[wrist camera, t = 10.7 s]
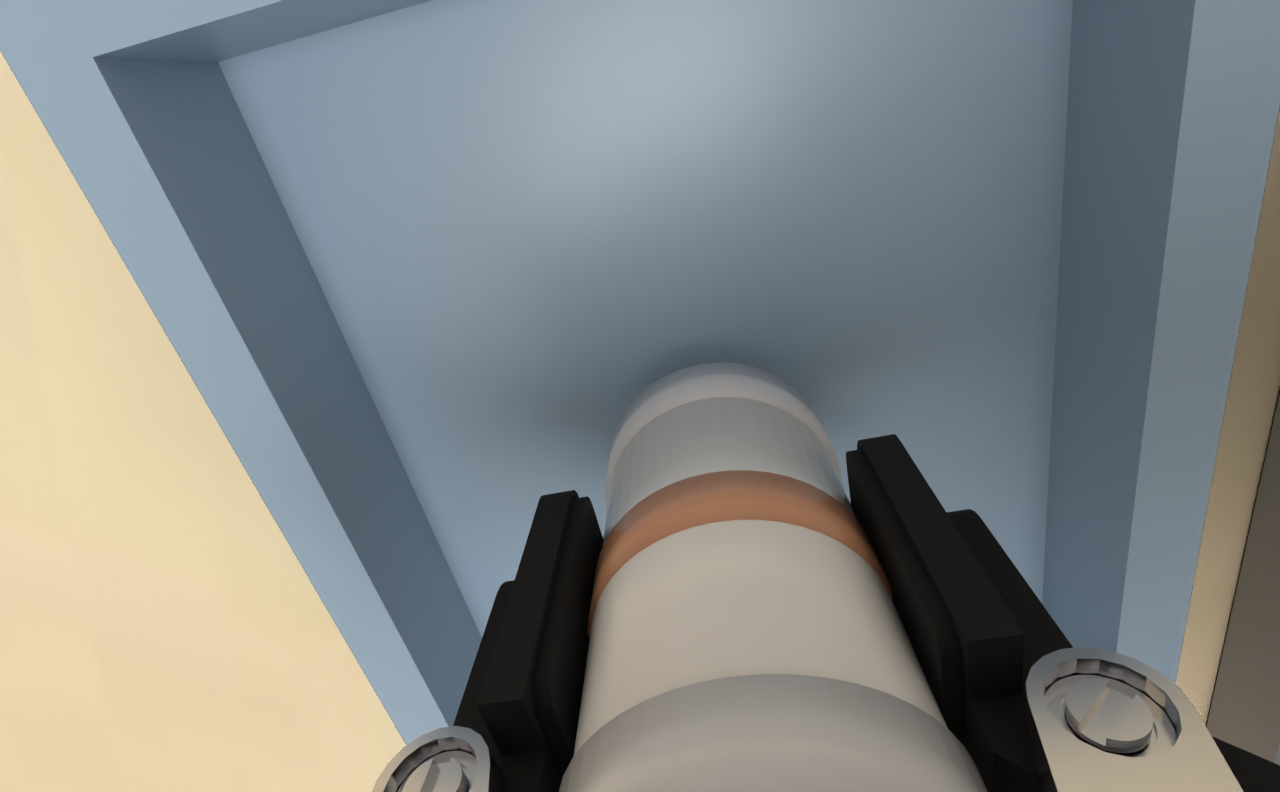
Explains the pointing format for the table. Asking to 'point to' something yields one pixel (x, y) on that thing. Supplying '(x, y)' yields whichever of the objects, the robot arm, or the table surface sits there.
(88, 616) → the table surface
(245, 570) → the table surface
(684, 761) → the marked fuse
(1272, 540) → the fuse holder
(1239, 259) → the tray
